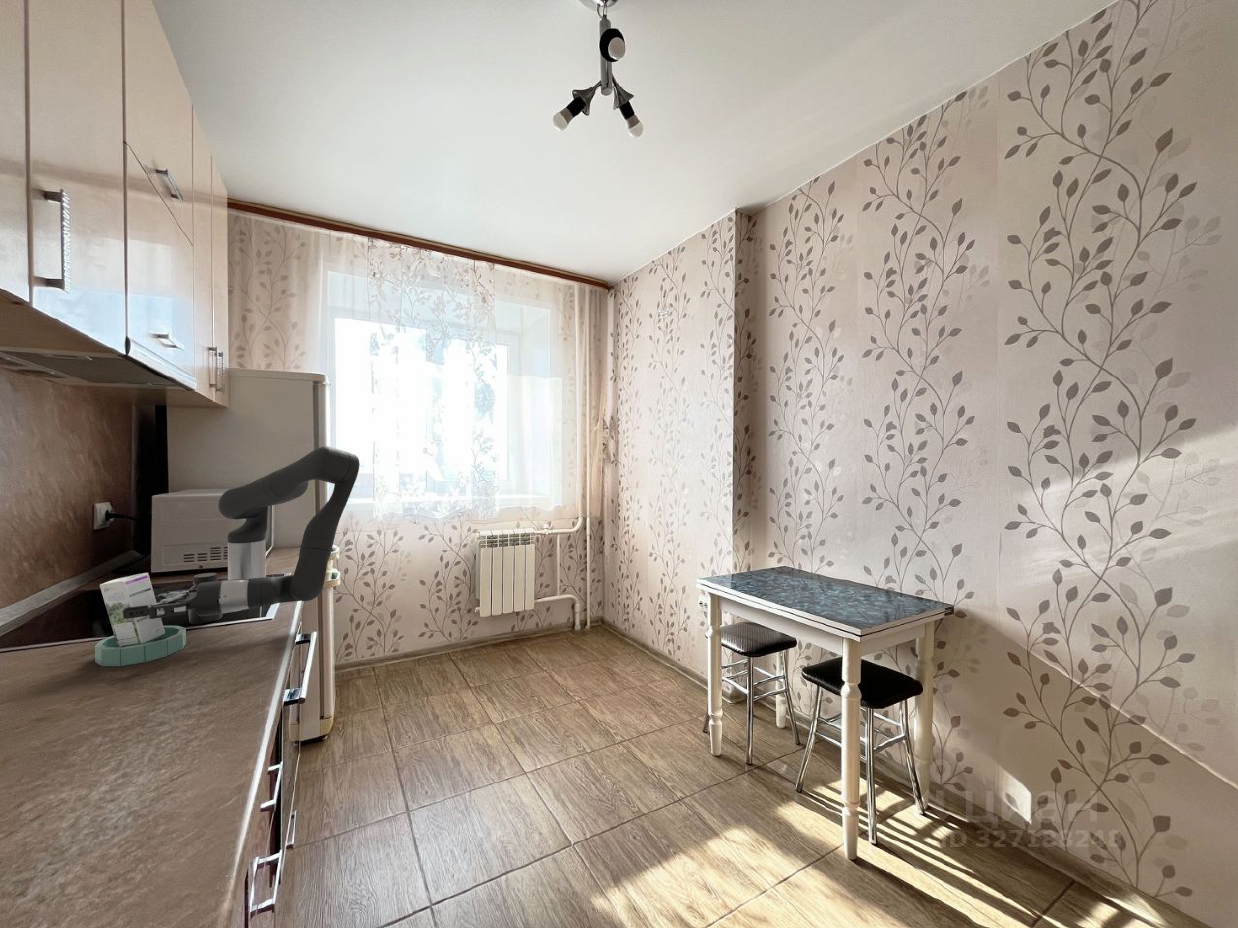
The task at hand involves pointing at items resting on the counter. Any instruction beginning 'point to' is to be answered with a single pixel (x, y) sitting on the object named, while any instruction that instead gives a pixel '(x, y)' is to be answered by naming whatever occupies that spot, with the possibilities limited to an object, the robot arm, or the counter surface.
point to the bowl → (140, 648)
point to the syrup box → (131, 595)
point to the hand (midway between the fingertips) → (130, 608)
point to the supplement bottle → (193, 615)
